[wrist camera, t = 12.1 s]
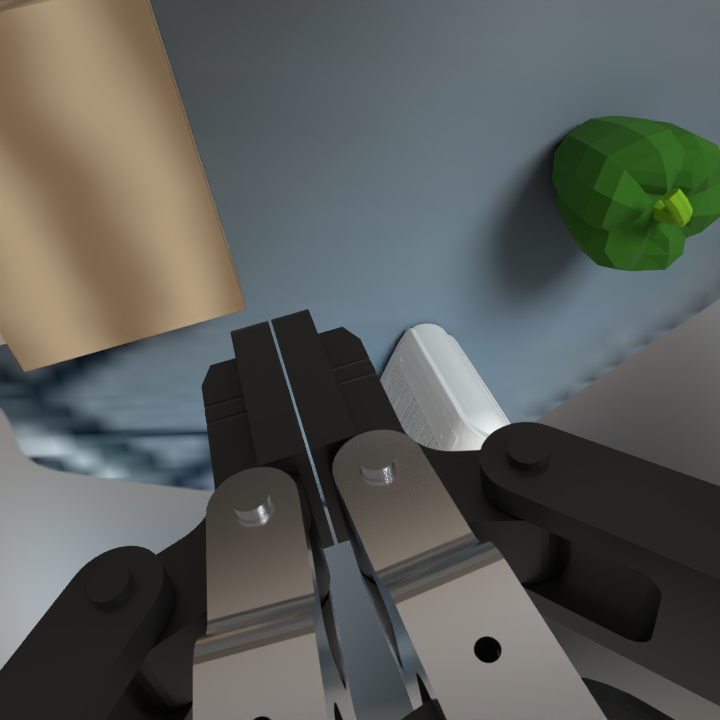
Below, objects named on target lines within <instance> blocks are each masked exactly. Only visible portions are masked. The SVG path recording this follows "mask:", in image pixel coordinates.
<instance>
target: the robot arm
mask: <svg viewBox="0 0 720 720" xmlns="http://www.w3.org/2000/svg"><path fill="white" fill-rule="evenodd" d="M271 321H272V324H273V328H274V331H275V334H276V338H277V341H278V344H279V348H280V351H281V355H282V358H283V361H284V365H285V368H286V371H287V375H288V378H289V382H290V385H291V388H292V392H293V395H294V398H295V402H296V405H297V408H298V412H299V415H300V418H301V422H302V425H303V428H304V432H305V435H306V438H307V441H308V445H309V448H310V451H311V455H312V458H313V461H314V465H315V468H316V471H317V475H318V478H319V481H320V485H321V488H322V491H323V494H324V498H325V501H326V504H327V508H328V511H329V514H330V518H331V521H332V524H333V528H334V530H335V534H336V537H337V541H338V543H341V542H344V541H347V540H350V542H351V545H352V548H353V551H354V555H355V557H356V560H357V564H358V568H359V571H360V575H361V579H362V582H363V585H364V587H365V589H366V592H367V594H368V597H369V599H370V601H371V603H372V606H373V608H374V611H375V613H376V616H377V618H378V621H379V623H380V625H381V628H382V630H383V632H384V635H385V637H386V640H387V642H388V645H389V647H390V649H391V652H392V654H393V657H394V659H395V661H396V664H397V666H398V669H399V671H400V673H401V676H402V678H403V681H404V683H405V686H406V689H407V691H408V694H409V697H410V700H411V703H412V706H413V709H414V711H413V712H411V713H410V714H409V715H407V716H406V717H405V718H403V719H401V720H674V719H672V718H671V717H669V716H667V715H666V714H664V713H662V712H661V711H659V710H657V709H655V708H654V707H652V706H650V705H648V704H647V703H645V702H643V701H641V700H640V699H638V698H636V697H634V696H632V695H631V694H629V693H626V692H624V691H622V690H620V689H617V688H615V687H613V686H610V685H607V684H604V683H601V682H598V681H594V680H591V679H587V678H582V677H580V676H579V674H578V673H577V671H576V670H575V668H574V667H573V665H572V663H571V662H570V660H569V659H568V657H567V656H566V654H565V653H564V651H563V650H562V648H561V646H560V645H559V643H558V642H557V640H556V639H555V637H554V635H553V634H552V632H551V631H550V629H549V628H548V626H547V624H546V623H545V621H544V620H543V618H542V616H541V615H540V613H541V614H543V615H545V616H546V617H548V618H550V619H552V620H554V621H556V622H558V623H560V624H562V625H564V626H566V627H568V628H570V629H572V630H574V631H575V632H577V633H579V634H581V635H583V636H585V637H587V638H589V639H591V640H593V641H595V642H597V643H599V644H601V645H603V646H604V647H606V648H608V649H610V650H612V651H614V652H616V653H619V654H620V655H622V656H624V657H626V658H628V659H630V660H632V661H633V662H635V663H637V664H640V665H641V666H643V667H645V668H647V669H649V670H651V671H653V672H655V673H657V674H659V675H661V676H662V677H664V678H666V679H668V680H671V681H672V682H674V683H676V684H678V685H680V686H682V687H684V688H686V689H688V690H690V691H691V692H693V693H696V694H697V695H699V696H701V697H703V698H705V699H707V700H709V701H711V702H713V703H715V704H717V705H719V706H720V486H717V485H714V484H711V483H709V482H706V481H703V480H700V479H697V478H694V477H692V476H689V475H686V474H683V473H680V472H677V471H675V470H672V469H669V468H666V467H663V466H660V465H657V464H655V463H652V462H649V461H646V460H643V459H641V458H638V457H635V456H632V455H629V454H626V453H624V452H621V451H618V450H615V449H612V448H610V447H607V446H604V445H601V444H598V443H595V442H593V441H590V440H587V439H584V438H581V437H578V436H575V435H573V434H570V433H567V432H564V431H561V430H559V429H556V428H553V427H550V426H547V425H543V424H540V423H533V422H520V423H513V424H509V425H506V426H503V427H501V428H499V429H497V430H495V431H494V432H493V433H491V434H490V435H489V436H488V437H487V438H486V439H485V441H484V442H483V444H482V446H481V449H480V450H467V451H442V450H436V449H432V448H428V447H426V446H423V445H421V444H419V443H417V442H416V441H414V440H413V439H412V438H411V437H409V436H408V435H407V433H406V432H405V431H404V429H403V427H402V426H401V423H400V421H399V419H398V417H397V415H396V413H395V411H394V409H393V407H392V405H391V403H390V400H389V398H388V396H387V394H386V392H385V390H384V388H383V386H382V384H381V382H380V379H379V377H378V375H376V371H375V369H374V367H373V365H372V363H371V361H370V360H369V356H368V354H367V352H366V350H365V348H364V346H363V344H362V342H361V340H360V339H359V338H358V337H356V336H355V335H353V334H352V333H351V332H349V331H348V330H346V329H345V328H343V327H340V328H337V329H333V330H330V331H326V332H323V333H319V334H318V333H317V330H316V328H315V325H314V323H313V320H312V318H311V315H310V313H309V310H308V309H307V310H304V311H300V312H297V313H293V314H290V315H286V316H283V317H279V318H276V319H272V320H271ZM231 337H232V342H233V347H234V352H235V357H236V358H234V359H231V360H227V361H224V362H221V363H217V364H214V365H210V368H209V370H208V372H207V375H206V377H205V379H204V382H203V384H202V393H203V400H204V407H205V416H206V423H207V431H208V438H209V446H210V453H211V461H212V469H213V476H214V484H215V491H214V493H213V494H212V496H211V498H210V500H209V502H208V505H207V508H206V516H205V518H204V519H203V521H202V522H201V523H200V524H199V525H198V526H197V527H196V528H195V529H194V530H193V531H191V532H190V533H189V534H188V535H186V536H185V537H183V538H182V539H181V540H179V541H177V542H176V543H174V544H173V545H171V546H169V547H168V548H166V549H165V550H163V551H161V552H160V553H158V554H157V555H155V554H154V553H153V552H151V551H150V550H148V549H146V548H143V547H138V546H124V547H119V548H115V549H112V550H109V551H107V552H104V553H103V554H101V555H99V556H97V557H95V558H94V559H93V560H91V561H90V562H88V563H87V564H86V565H85V566H84V567H83V568H82V569H80V571H79V572H78V573H77V574H76V575H75V576H74V578H73V579H72V580H71V581H70V583H69V584H68V585H67V586H66V588H65V589H64V590H63V592H62V593H61V594H60V595H59V597H58V598H57V599H56V600H55V602H54V603H53V605H52V606H51V607H50V608H49V609H48V611H47V612H46V613H45V614H44V616H43V617H42V618H41V620H40V621H39V622H38V623H37V625H36V626H35V627H34V628H33V630H32V631H31V632H30V634H29V635H28V636H27V637H26V639H25V640H24V641H23V642H22V644H21V645H20V647H19V648H18V649H17V650H16V652H15V653H14V654H13V655H12V656H11V658H10V659H9V660H8V662H7V663H6V664H5V665H4V667H3V668H2V669H1V670H0V720H356V716H355V712H354V708H353V704H352V700H351V695H350V689H349V684H348V679H347V673H346V667H345V662H344V656H343V651H342V646H341V640H340V635H339V629H338V624H337V618H336V613H335V607H334V602H333V596H332V592H331V589H330V573H329V569H328V565H327V561H326V558H325V554H324V551H323V549H324V548H327V547H330V546H333V545H334V542H333V539H332V535H331V531H330V528H329V525H328V521H327V518H326V514H325V511H324V508H323V504H322V501H321V497H320V494H319V491H318V487H317V484H316V481H315V477H314V474H313V470H312V467H311V464H310V460H309V457H308V453H307V450H306V447H305V443H304V440H303V437H302V433H301V430H300V426H299V423H298V420H297V416H296V413H295V410H294V406H293V403H292V399H291V396H290V393H289V389H288V386H287V383H286V379H285V376H284V373H283V369H282V366H281V363H280V359H279V356H278V353H277V350H276V346H275V343H274V340H273V336H272V333H271V330H270V326H269V323H268V321H266V322H262V323H259V324H255V325H252V326H248V327H245V328H241V329H238V330H234V331H231Z"/></svg>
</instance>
